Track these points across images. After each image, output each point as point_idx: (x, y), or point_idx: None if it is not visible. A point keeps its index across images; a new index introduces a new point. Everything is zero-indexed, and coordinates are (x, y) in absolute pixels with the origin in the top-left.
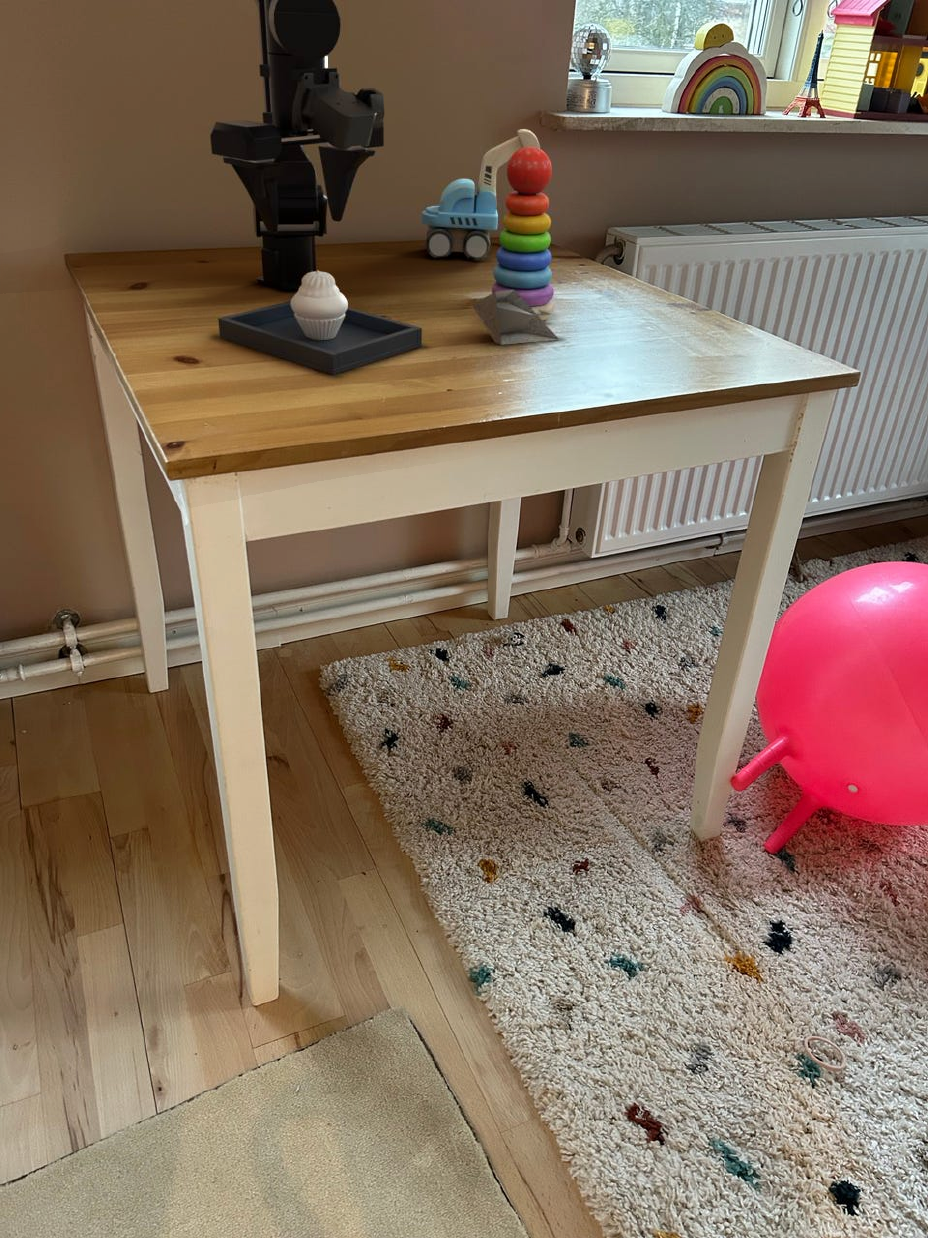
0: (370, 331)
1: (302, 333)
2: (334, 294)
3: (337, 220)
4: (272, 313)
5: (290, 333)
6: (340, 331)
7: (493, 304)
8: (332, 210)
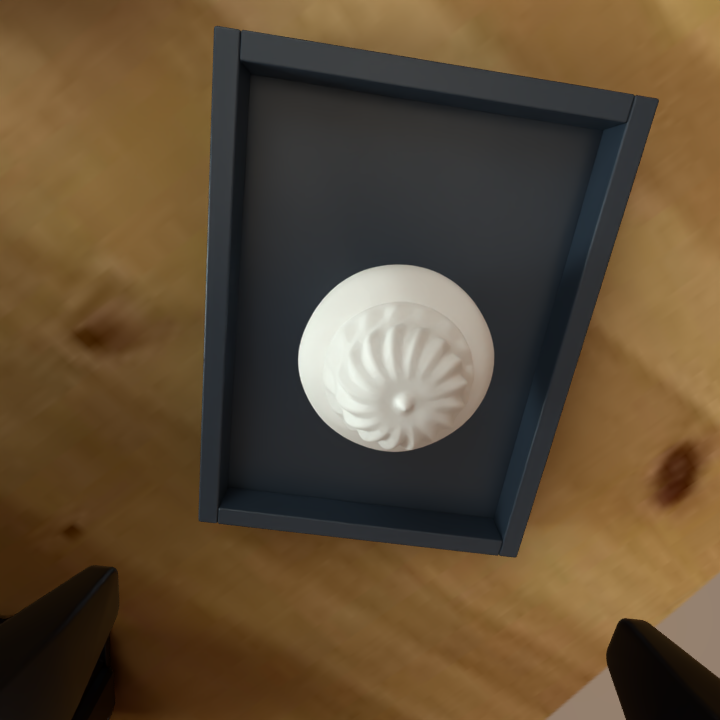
0: (257, 250)
1: None
2: (404, 304)
3: (117, 576)
4: (357, 513)
5: None
6: None
7: None
8: (87, 658)
